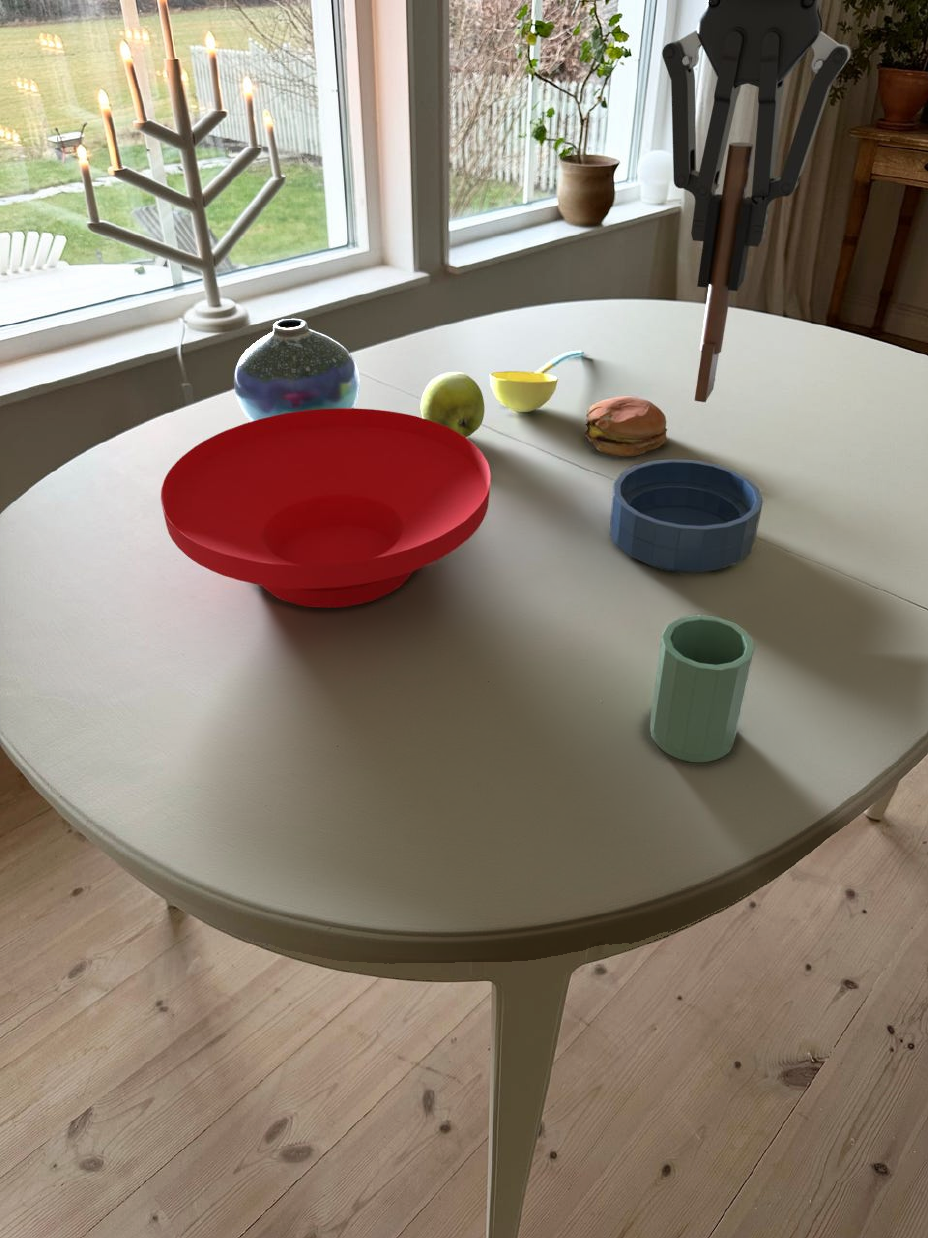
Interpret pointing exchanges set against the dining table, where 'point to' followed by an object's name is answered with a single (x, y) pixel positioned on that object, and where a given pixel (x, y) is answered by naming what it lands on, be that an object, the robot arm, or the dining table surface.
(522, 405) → the ladle
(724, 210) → the stick
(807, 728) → the dining table surface
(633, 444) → the burger
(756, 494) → the blue pet dish
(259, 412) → the vase
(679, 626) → the crock
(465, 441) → the bowl
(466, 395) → the apple
